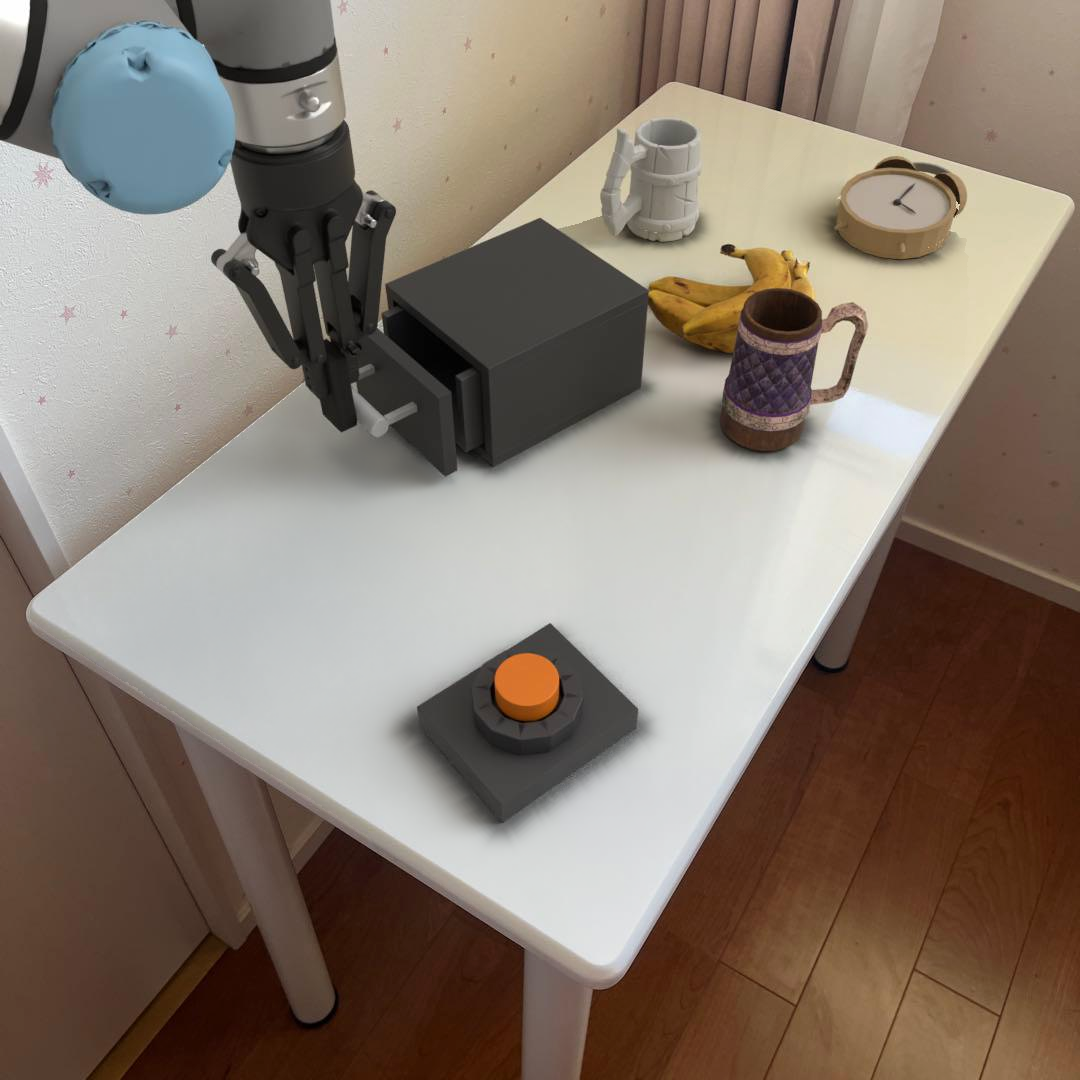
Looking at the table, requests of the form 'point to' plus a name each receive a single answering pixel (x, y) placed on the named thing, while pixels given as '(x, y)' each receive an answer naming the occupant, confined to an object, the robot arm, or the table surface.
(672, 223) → the mug
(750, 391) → the mug
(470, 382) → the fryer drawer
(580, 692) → the control block
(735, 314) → the banana
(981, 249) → the table surface
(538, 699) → the button
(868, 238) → the alarm clock
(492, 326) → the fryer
